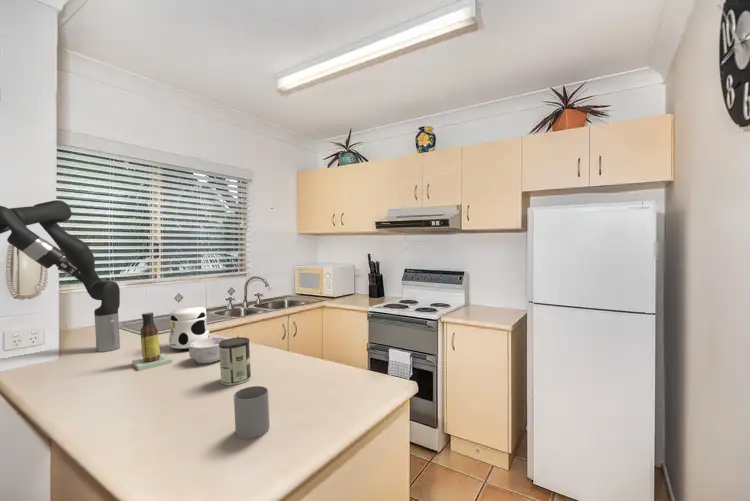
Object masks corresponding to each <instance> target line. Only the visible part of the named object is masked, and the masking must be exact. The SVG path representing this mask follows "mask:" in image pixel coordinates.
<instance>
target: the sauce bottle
mask: <svg viewBox="0 0 750 501" xmlns="http://www.w3.org/2000/svg"><path fill="white" fill-rule="evenodd" d="M141 318H142V327H141V329H140V343H141V344H140V345H141V352H142V353H141V354H142V358H143V361H145V362H150V361H155V360H157V359H159V358H160V354H161V351H160V349H161V348H160V338H159V330H158V329H157V326H156V324H155V321H154V312H152V311H149V312H143V313H142V314H141Z"/></svg>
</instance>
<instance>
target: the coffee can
mask: <svg viewBox="0 0 750 501" xmlns="http://www.w3.org/2000/svg"><path fill="white" fill-rule="evenodd" d="M219 351H220V360H219V365H220V366H219V368H220V383H221V384H222V385H223V386H237V385H241V384H244V383H246V382H248V381H250V380H251V378H252V374H251V373H252V372H251V357H250V356H251V355H250V354H251V352H250V351H251V350H250V339H249V337H232V338H227V339H226V340H223V341H221V342H219Z"/></svg>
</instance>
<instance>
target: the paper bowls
mask: <svg viewBox="0 0 750 501" xmlns="http://www.w3.org/2000/svg"><path fill="white" fill-rule="evenodd" d="M226 339H228V338H227V337H222V336H220V337H219V336H216V337H209V338H206V339H201V340H198V341H195V342H193V343H191V344H190V345H189V349H188V352H189V354H188V355H189V358H191V359H194V360H195V362H196V363H198V364H210V363H215V362H218V361H220V351H219V342H221V341H223V340H226Z"/></svg>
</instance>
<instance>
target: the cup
mask: <svg viewBox="0 0 750 501" xmlns="http://www.w3.org/2000/svg"><path fill="white" fill-rule="evenodd" d="M233 404H234V405H233V406H234V408H233V409H234V425H235V426H234V429H235V435H236V437H237V438H239V439H241V440H252V439H257V438H259V437H261V436H264V435H266V433H268V432H269V430H270V426H271V425H270V406H269V404H270V402H269V389H268V388H267V387H265V386H262V385H255V386H254V385H253V386H247V387H244V388H241V389H240V390H237V391H236V392H235V393H234V394H233Z"/></svg>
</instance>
